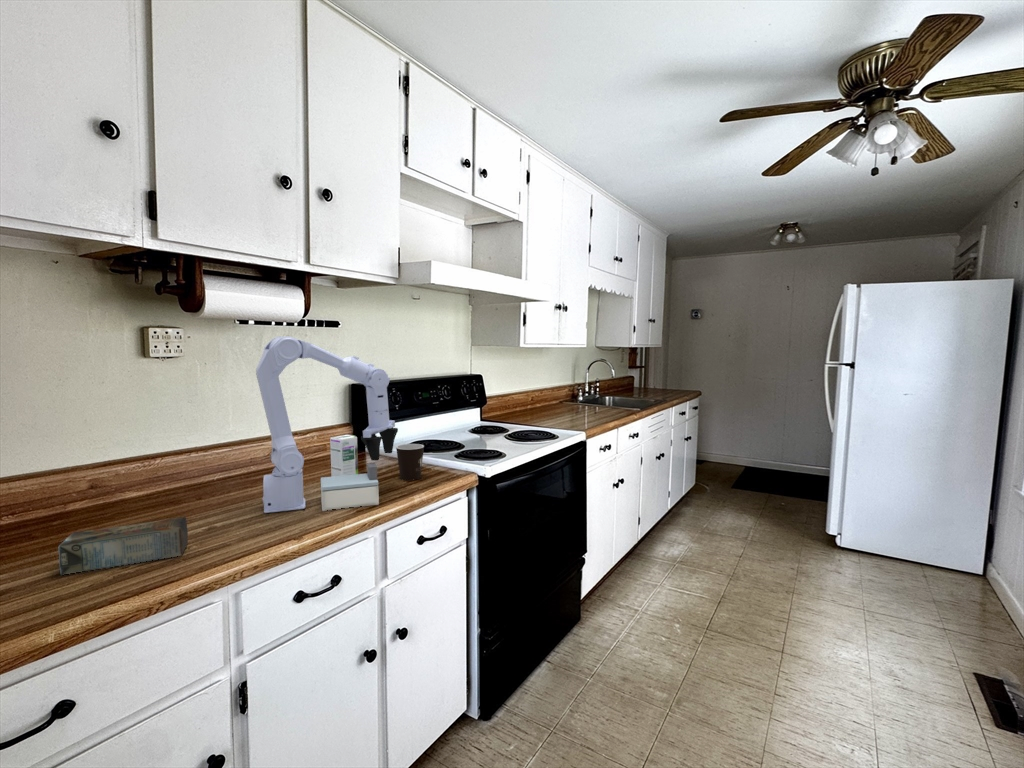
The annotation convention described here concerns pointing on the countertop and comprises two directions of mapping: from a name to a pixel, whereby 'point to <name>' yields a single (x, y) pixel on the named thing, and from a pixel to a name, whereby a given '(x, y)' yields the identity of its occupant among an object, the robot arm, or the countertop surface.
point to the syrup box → (344, 455)
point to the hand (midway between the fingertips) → (381, 456)
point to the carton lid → (351, 479)
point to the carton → (349, 497)
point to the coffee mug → (410, 460)
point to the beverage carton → (123, 545)
